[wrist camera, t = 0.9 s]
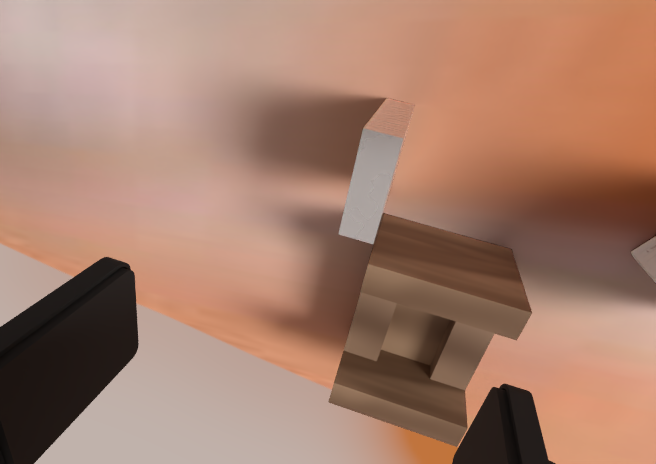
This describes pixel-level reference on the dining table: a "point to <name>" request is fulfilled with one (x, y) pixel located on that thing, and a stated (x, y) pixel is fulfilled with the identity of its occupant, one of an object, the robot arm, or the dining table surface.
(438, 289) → the wooden spool frame
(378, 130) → the grey slab
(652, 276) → the supplement box
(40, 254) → the dining table surface
